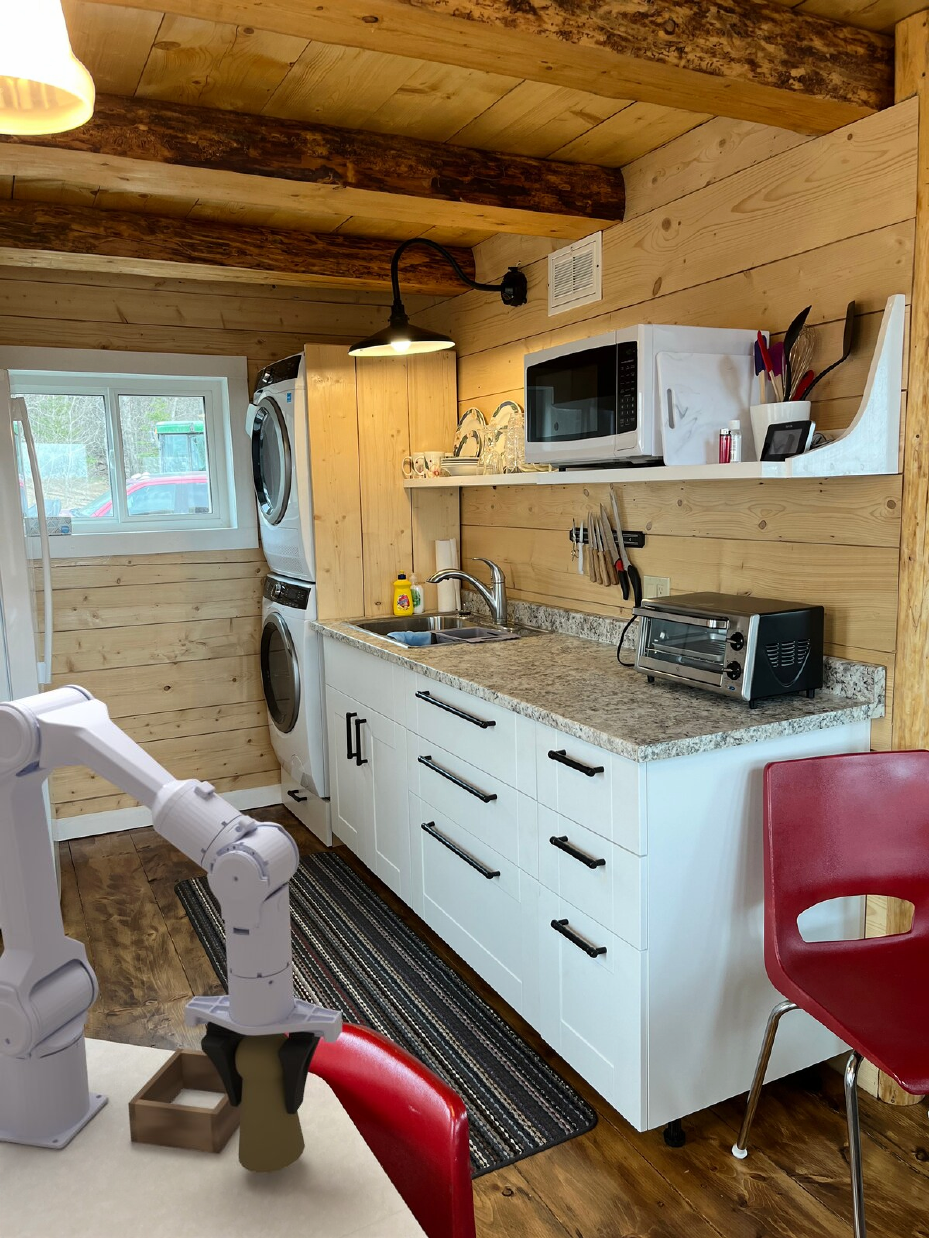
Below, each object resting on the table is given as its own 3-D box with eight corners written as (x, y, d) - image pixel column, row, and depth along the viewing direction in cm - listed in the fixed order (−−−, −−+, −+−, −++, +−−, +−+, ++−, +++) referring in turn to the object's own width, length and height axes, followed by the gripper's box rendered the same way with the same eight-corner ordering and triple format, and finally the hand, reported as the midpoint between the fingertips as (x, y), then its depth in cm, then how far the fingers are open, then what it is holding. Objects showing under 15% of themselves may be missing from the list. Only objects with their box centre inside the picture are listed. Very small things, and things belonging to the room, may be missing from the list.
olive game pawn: (290, 1175, 83) (281, 1057, 82) (226, 1169, 84) (217, 1053, 83) (314, 1131, 89) (306, 1021, 88) (254, 1127, 90) (245, 1017, 89)
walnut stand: (131, 1141, 91) (128, 1102, 91) (180, 1083, 100) (178, 1048, 100) (219, 1153, 89) (217, 1114, 89) (262, 1093, 98) (260, 1057, 98)
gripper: (351, 948, 87) (356, 1085, 88) (207, 936, 90) (215, 1068, 91) (323, 987, 80) (329, 1134, 81) (169, 972, 83) (178, 1114, 85)
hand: (267, 1103), depth 86 cm, fingers closed on olive game pawn, 5 cm apart
